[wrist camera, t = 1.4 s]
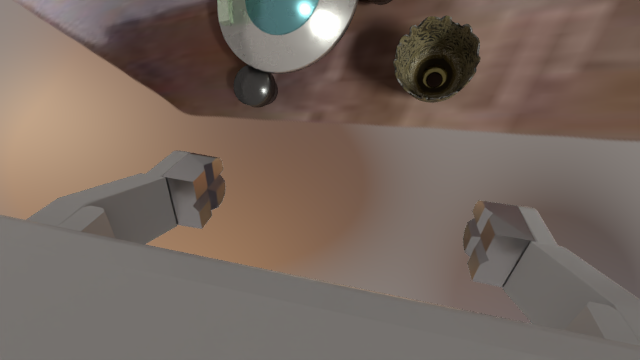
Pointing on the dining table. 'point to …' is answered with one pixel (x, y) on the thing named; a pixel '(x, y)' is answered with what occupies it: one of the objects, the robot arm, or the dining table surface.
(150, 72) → the dining table surface
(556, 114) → the dining table surface
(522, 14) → the dining table surface
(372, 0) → the leveling base
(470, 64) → the cup
